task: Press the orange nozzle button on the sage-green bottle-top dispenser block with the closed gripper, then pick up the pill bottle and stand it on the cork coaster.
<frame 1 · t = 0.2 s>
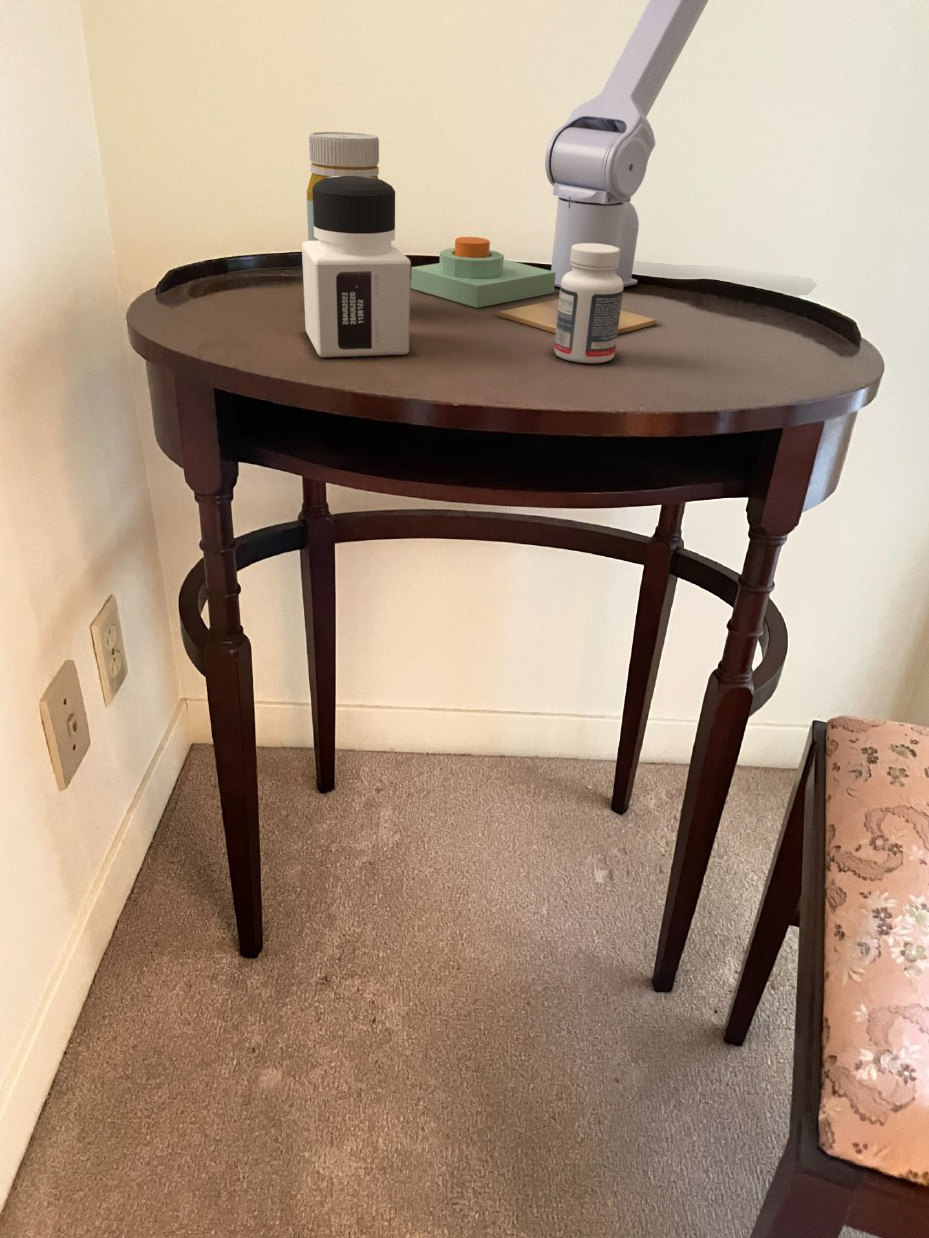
bottle: (347, 310, 88), on the table
nozzle base: (482, 291, 97), on the table
coaster: (577, 320, 88), on the table
container: (356, 346, 78), on the table
pill bottle: (583, 358, 78), on the table
nozzle: (472, 249, 93), point 4 cm above the table, slide at 0.1 cm
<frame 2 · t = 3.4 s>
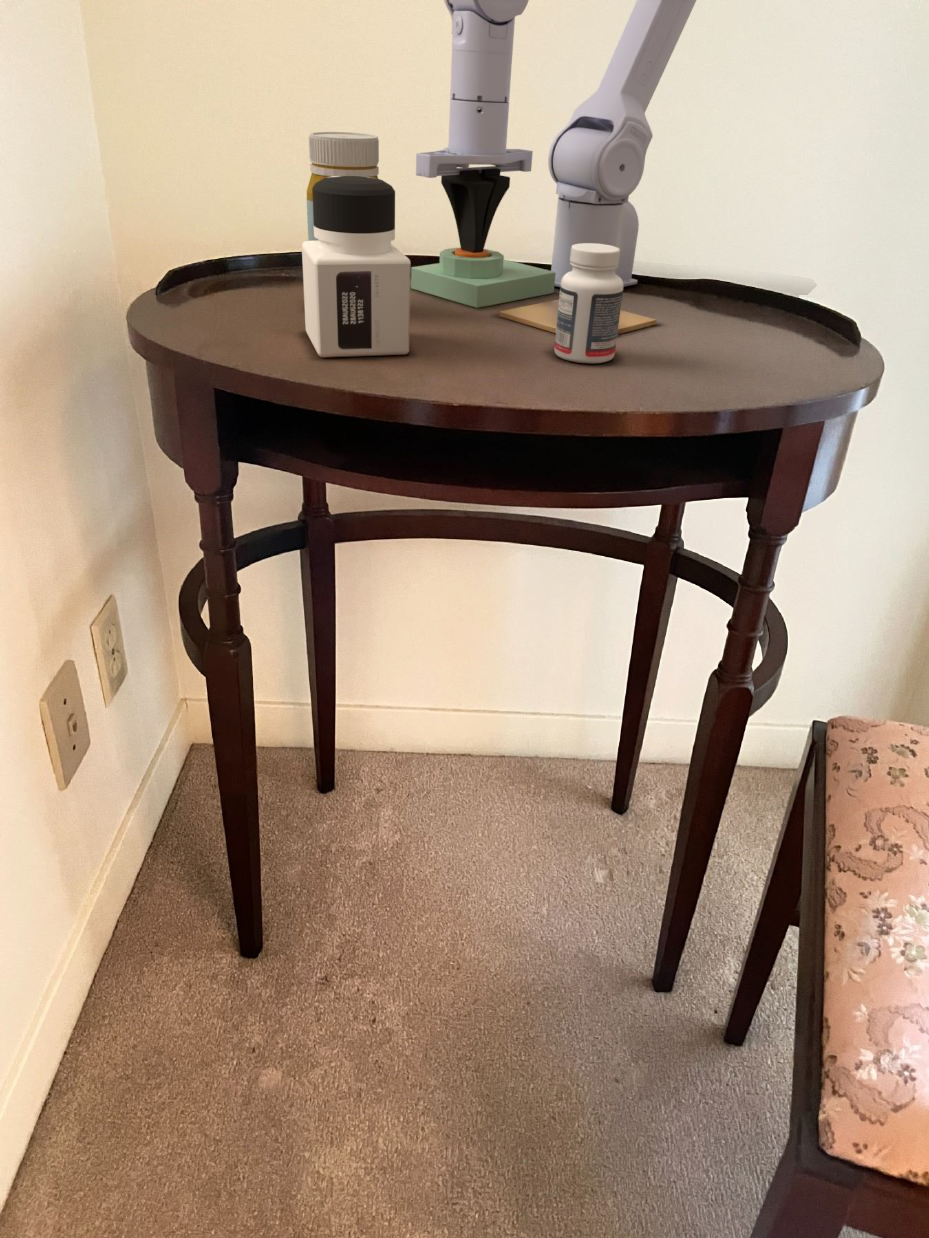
hand: (471, 251, 93), 4 cm above the table, tool pointing down, fingers closed, pressing on nozzle
nozzle: (471, 259, 94), point 3 cm above the table, slide at -1.0 cm, touching gripper
everything else where it was.
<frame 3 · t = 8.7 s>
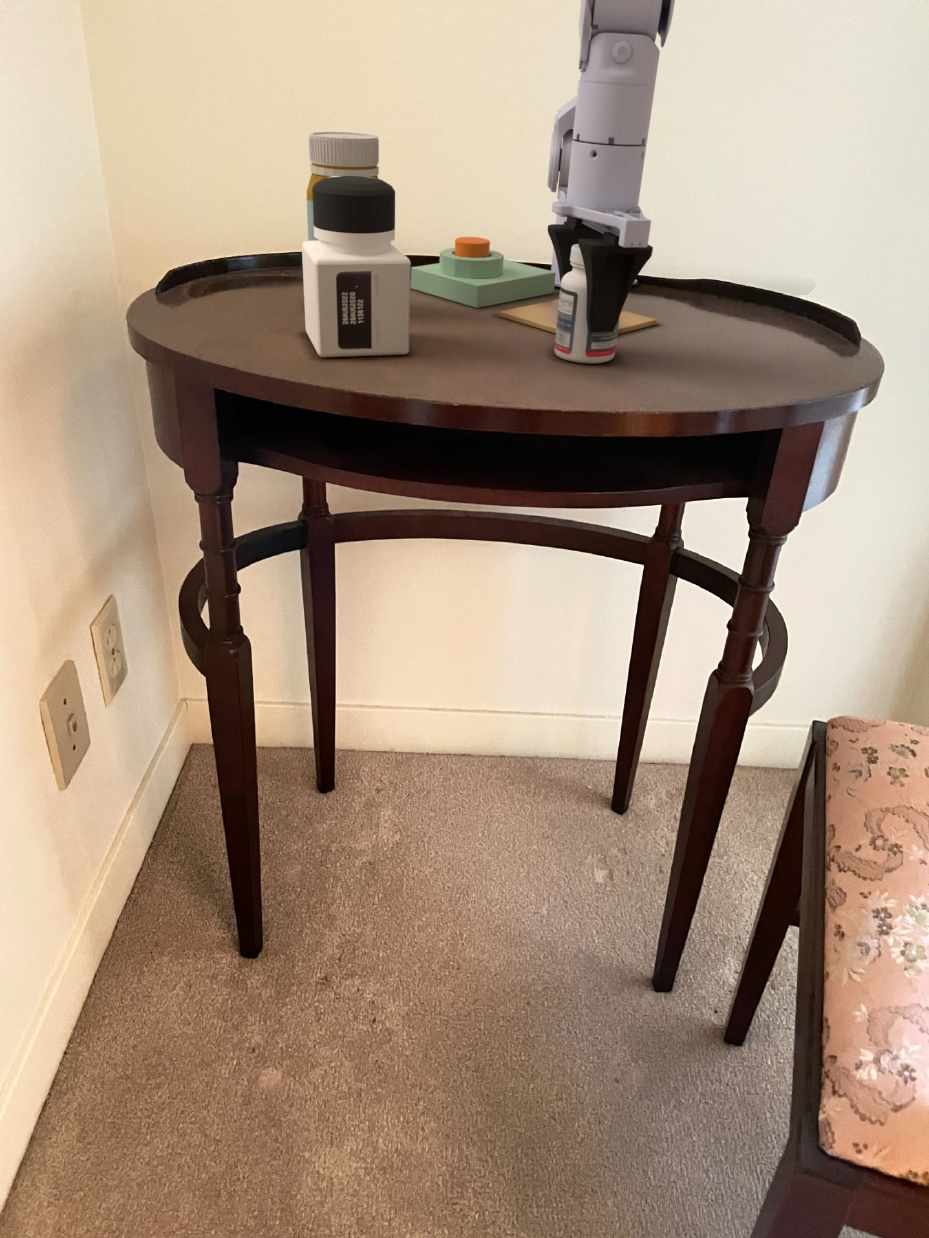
hand: (587, 321, 76), 3 cm above the table, tool pointing down, fingers closed on pill bottle, 5 cm apart
pill bottle: (583, 358, 78), on the table, touching gripper
nozzle: (472, 249, 93), point 4 cm above the table, slide at 0.1 cm
everything else where it was.
when the fingers open (3 cm above the table, at t = 13.2 s): pill bottle stays where it is, resting on coaster.
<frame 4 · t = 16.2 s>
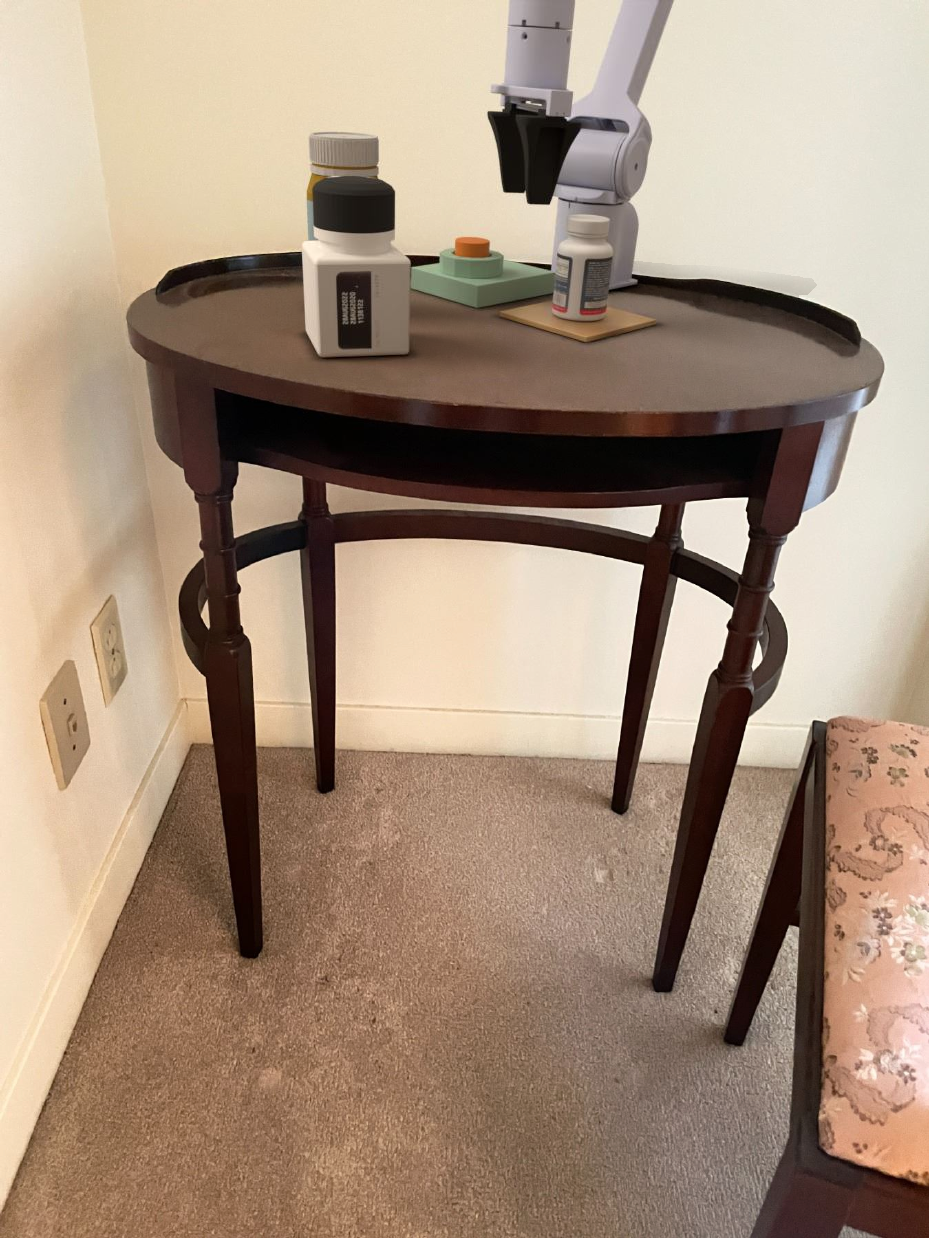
hand: (525, 198, 86), 10 cm above the table, tool pointing down, fingers open, 7 cm apart
pill bottle: (578, 317, 88), resting on coaster
everything else where it was.
at the end: nozzle pushed in 1.2 cm at the most during the clip, back to where it started at the end; nozzle slide at 0.1 cm; pill bottle inside the target area on the coaster (0.0 cm from its centre), point 0.3 cm above the coaster's base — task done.
